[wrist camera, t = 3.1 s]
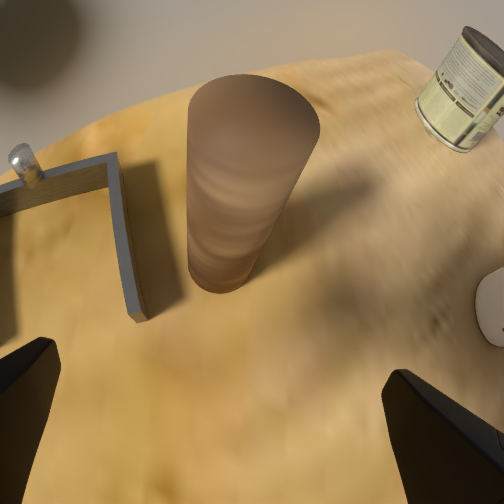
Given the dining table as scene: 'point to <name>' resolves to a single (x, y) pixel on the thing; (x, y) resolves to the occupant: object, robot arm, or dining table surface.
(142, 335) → the dining table surface
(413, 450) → the robot arm
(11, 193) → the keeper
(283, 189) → the peg
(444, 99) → the coffee can
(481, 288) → the milk bottle
